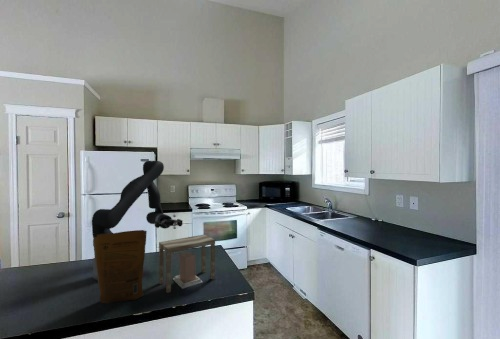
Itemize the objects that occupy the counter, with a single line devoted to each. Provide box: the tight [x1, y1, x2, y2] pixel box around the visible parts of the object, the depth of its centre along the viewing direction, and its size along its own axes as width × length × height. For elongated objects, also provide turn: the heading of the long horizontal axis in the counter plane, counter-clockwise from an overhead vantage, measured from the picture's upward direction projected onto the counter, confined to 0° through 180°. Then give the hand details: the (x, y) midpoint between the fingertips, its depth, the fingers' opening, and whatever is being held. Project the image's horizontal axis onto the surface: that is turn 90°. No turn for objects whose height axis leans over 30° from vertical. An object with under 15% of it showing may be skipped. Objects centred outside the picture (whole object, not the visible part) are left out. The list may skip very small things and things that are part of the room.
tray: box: [172, 274, 204, 289], centre depth 117 cm, size 12×10×2 cm
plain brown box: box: [179, 251, 196, 283], centre depth 117 cm, size 7×5×12 cm
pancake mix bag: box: [92, 229, 148, 304], centre depth 100 cm, size 7×19×28 cm, turn 106°
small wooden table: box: [158, 234, 216, 294], centre depth 117 cm, size 12×23×19 cm, turn 127°
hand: (173, 225), depth 132 cm, fingers open, 8 cm apart
